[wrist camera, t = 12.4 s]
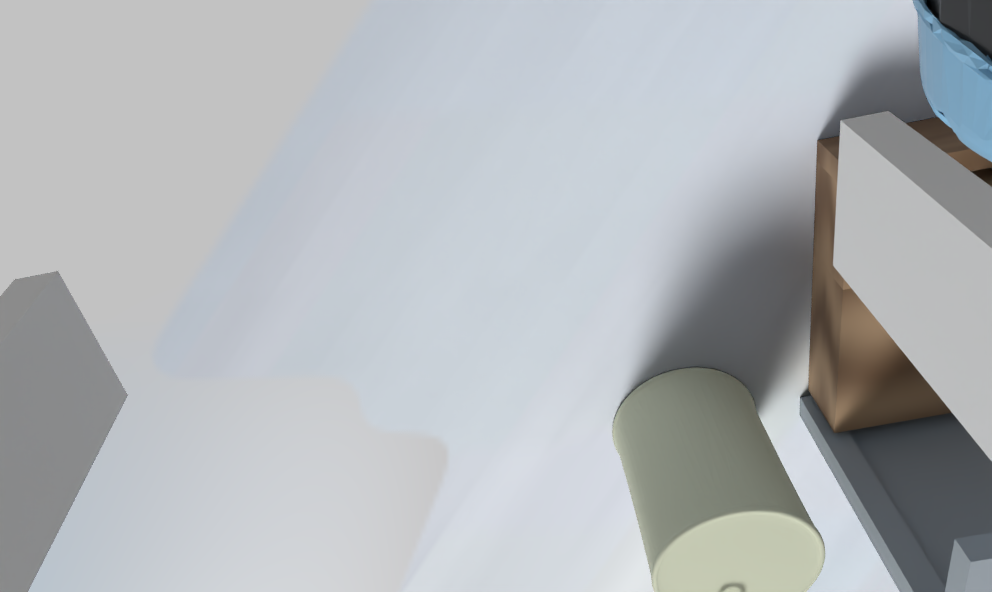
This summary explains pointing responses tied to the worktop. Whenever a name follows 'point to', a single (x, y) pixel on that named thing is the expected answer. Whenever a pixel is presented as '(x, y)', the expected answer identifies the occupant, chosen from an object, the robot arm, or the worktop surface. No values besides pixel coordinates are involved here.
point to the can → (712, 489)
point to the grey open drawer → (916, 497)
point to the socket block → (863, 318)
